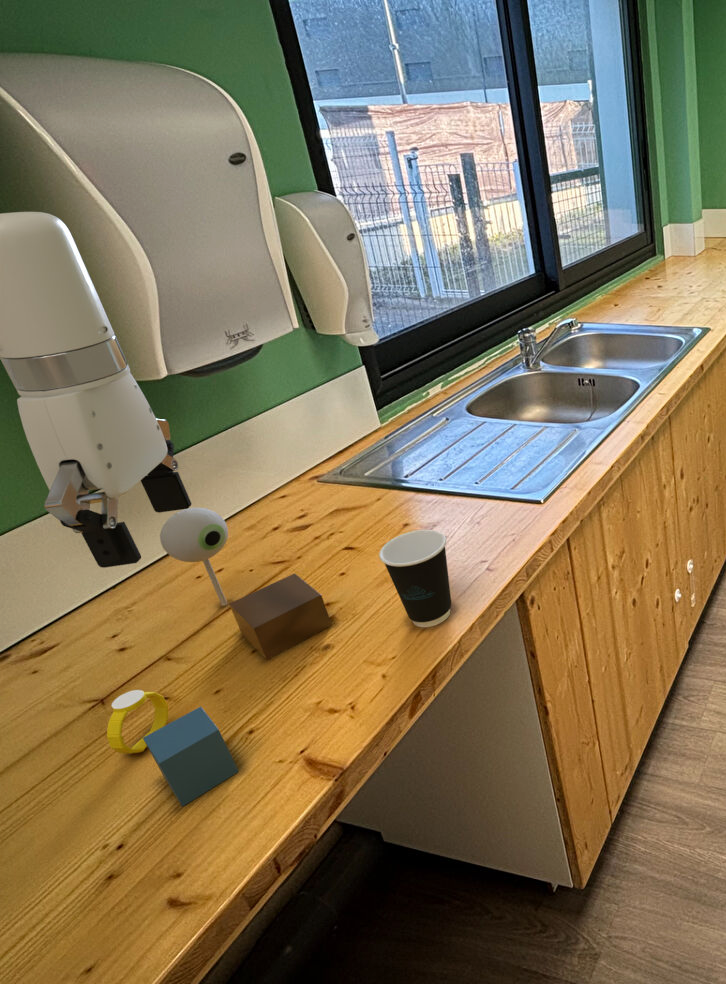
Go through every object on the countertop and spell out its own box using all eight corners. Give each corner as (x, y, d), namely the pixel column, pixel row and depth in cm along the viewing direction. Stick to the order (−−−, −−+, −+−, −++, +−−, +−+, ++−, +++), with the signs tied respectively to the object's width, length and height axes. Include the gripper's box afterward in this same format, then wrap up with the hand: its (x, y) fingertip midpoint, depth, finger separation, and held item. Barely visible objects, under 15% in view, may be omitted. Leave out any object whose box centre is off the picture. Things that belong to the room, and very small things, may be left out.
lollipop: (219, 625, 93) (177, 529, 86) (181, 615, 95) (137, 521, 88) (266, 593, 99) (230, 501, 92) (229, 584, 101) (191, 494, 94)
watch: (138, 764, 73) (115, 722, 70) (113, 764, 73) (89, 722, 70) (181, 719, 78) (161, 679, 75) (158, 719, 78) (136, 678, 76)
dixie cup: (447, 589, 98) (429, 522, 93) (473, 614, 93) (456, 544, 88) (390, 616, 93) (369, 547, 88) (414, 644, 88) (393, 572, 83)
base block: (266, 660, 86) (253, 628, 84) (241, 634, 91) (228, 603, 89) (332, 625, 92) (321, 594, 90) (305, 602, 96) (294, 572, 94)
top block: (182, 807, 68) (158, 763, 65) (165, 780, 71) (142, 737, 68) (239, 771, 71) (218, 729, 69) (221, 747, 74) (200, 706, 72)
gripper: (80, 341, 67) (152, 497, 74) (-62, 408, 51) (46, 596, 59) (167, 333, 68) (229, 487, 75) (54, 396, 52) (146, 581, 60)
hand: (149, 534), depth 67 cm, fingers open, 9 cm apart
